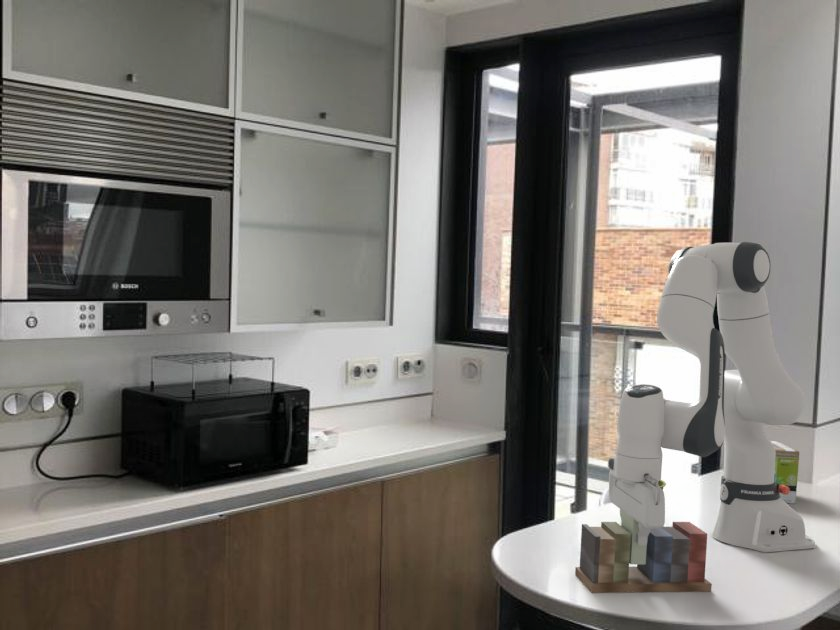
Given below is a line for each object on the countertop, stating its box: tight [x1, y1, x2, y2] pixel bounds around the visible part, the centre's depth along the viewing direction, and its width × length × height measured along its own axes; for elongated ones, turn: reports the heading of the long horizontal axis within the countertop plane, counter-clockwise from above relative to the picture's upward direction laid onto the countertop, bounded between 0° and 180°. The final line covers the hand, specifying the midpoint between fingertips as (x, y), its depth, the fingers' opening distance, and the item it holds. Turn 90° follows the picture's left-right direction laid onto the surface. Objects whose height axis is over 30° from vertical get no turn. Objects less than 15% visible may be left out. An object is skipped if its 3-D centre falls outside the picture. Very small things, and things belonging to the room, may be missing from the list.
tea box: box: [770, 440, 800, 504], centre depth 249 cm, size 15×10×15 cm, turn 179°
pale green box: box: [620, 511, 647, 565], centre depth 174 cm, size 3×6×9 cm, turn 8°
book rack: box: [574, 521, 713, 594], centre depth 174 cm, size 24×10×11 cm, turn 98°
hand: (633, 538), depth 174 cm, fingers closed on pale green box, 6 cm apart
